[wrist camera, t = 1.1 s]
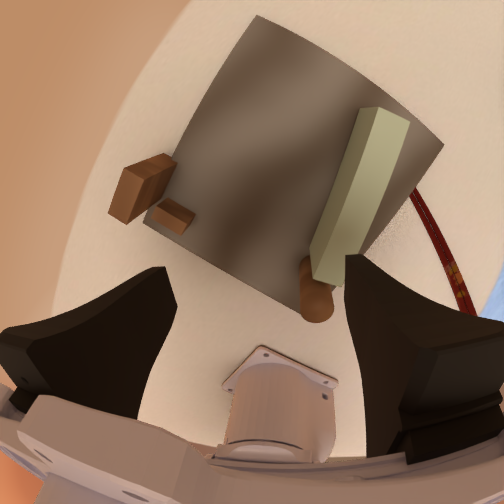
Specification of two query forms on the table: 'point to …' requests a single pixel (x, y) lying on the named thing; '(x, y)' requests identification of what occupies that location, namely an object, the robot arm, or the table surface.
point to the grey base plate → (269, 165)
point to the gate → (356, 191)
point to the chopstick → (444, 259)
